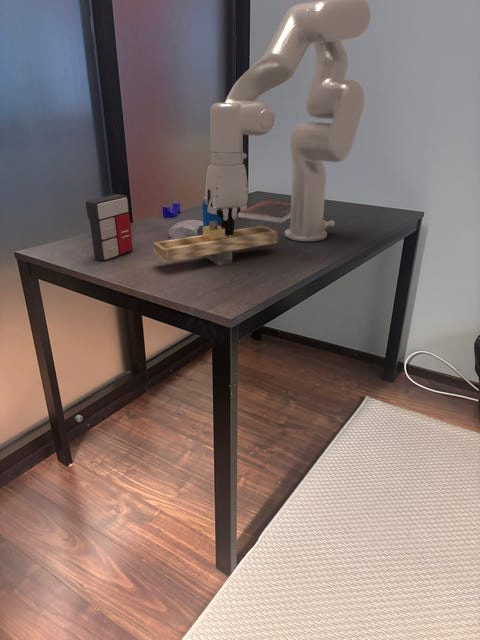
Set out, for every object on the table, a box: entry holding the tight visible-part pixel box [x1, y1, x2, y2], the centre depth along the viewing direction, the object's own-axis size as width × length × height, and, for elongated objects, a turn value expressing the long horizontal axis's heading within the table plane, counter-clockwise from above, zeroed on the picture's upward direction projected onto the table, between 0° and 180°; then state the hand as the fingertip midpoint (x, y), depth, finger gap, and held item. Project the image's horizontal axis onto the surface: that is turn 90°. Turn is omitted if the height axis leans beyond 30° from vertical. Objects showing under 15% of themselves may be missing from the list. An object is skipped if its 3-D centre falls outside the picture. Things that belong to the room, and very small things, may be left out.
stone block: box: [168, 219, 203, 240], centre depth 145 cm, size 12×5×10 cm
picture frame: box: [237, 200, 291, 223], centre depth 170 cm, size 16×2×22 cm
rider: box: [203, 221, 225, 242], centre depth 120 cm, size 4×4×6 cm
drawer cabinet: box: [85, 193, 133, 262], centre depth 124 cm, size 11×4×15 cm, turn 148°
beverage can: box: [202, 196, 221, 227], centre depth 138 cm, size 6×6×12 cm
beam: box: [152, 225, 278, 266], centre depth 123 cm, size 32×8×6 cm, turn 120°
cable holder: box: [162, 202, 181, 219], centre depth 166 cm, size 8×4×4 cm, turn 155°
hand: (227, 234), depth 123 cm, fingers closed
